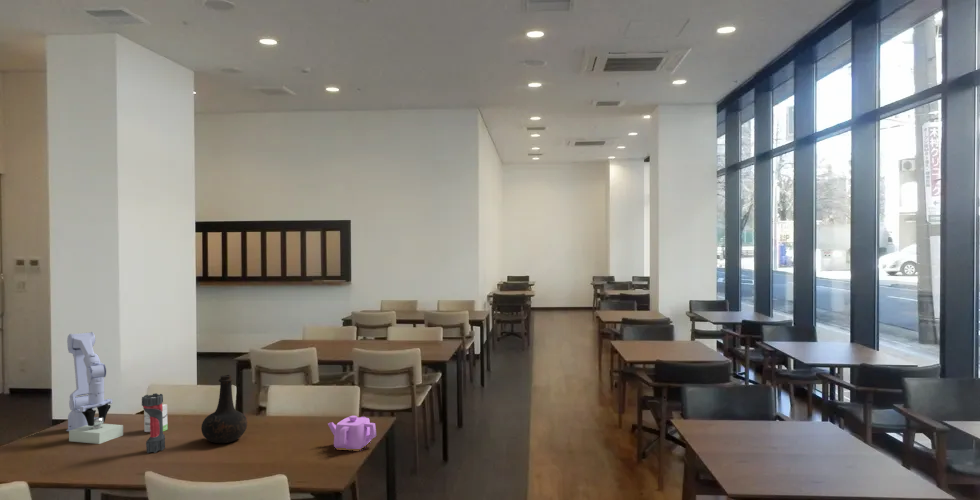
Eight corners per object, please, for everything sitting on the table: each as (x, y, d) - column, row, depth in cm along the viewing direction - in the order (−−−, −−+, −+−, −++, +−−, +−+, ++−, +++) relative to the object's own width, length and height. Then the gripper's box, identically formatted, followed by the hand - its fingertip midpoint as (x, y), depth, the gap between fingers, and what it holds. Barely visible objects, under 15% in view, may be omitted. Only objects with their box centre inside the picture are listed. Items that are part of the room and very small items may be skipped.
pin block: (69, 441, 256) (69, 430, 256) (93, 432, 268) (93, 422, 268) (99, 443, 253) (99, 433, 253) (123, 435, 264) (123, 425, 264)
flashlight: (139, 455, 238) (139, 398, 238) (145, 449, 245) (145, 393, 245) (161, 453, 240) (161, 396, 240) (166, 447, 247) (166, 392, 247)
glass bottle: (192, 443, 253) (192, 377, 253) (228, 432, 269) (228, 369, 269) (220, 449, 244) (220, 381, 245) (256, 437, 260) (256, 373, 260)
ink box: (168, 429, 272) (168, 403, 272) (160, 432, 268) (160, 406, 268) (151, 428, 274) (151, 403, 274) (143, 431, 269) (143, 405, 269)
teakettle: (340, 455, 237) (340, 424, 237) (326, 444, 251) (326, 414, 251) (380, 447, 247) (380, 417, 247) (364, 437, 261) (364, 408, 261)
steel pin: (86, 434, 258) (86, 419, 258) (97, 430, 263) (96, 416, 263) (96, 435, 257) (96, 420, 257) (106, 431, 262) (106, 416, 262)
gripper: (89, 397, 252) (89, 429, 252) (117, 389, 266) (118, 419, 266) (75, 396, 254) (75, 428, 254) (105, 388, 268) (105, 418, 268)
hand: (96, 423), depth 260 cm, fingers closed on steel pin, 5 cm apart
